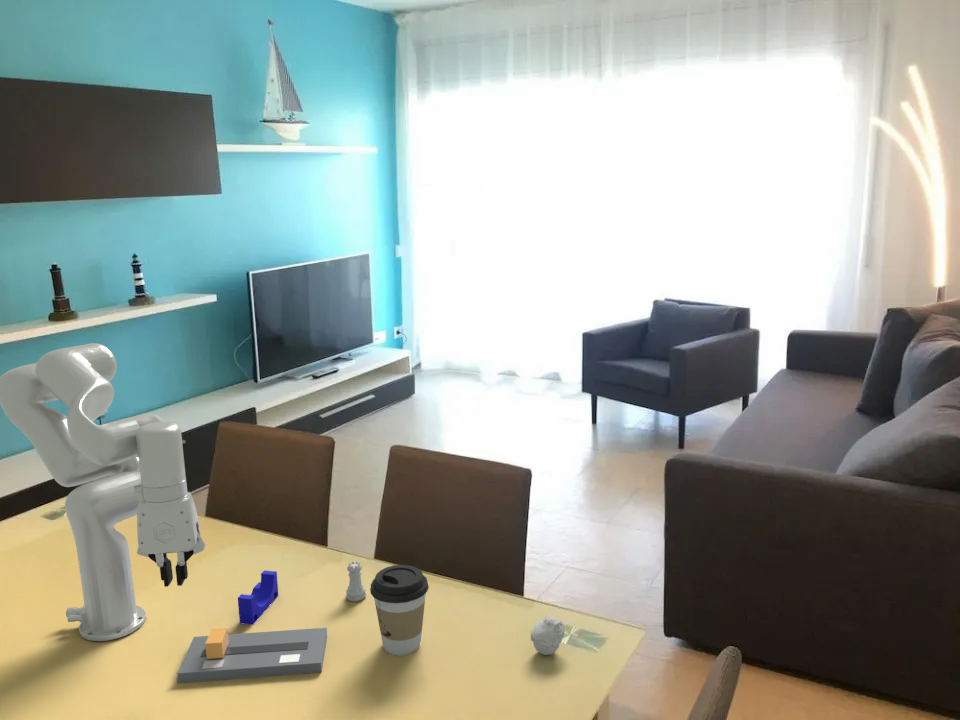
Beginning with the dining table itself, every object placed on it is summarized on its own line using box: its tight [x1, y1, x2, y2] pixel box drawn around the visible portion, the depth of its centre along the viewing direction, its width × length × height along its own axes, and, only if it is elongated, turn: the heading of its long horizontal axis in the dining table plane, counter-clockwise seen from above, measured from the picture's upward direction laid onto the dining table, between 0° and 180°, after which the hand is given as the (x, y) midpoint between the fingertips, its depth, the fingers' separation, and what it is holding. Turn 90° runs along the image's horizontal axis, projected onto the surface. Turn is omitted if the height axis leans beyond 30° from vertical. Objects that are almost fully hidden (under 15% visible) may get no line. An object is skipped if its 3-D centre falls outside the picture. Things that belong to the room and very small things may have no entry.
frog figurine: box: [530, 615, 566, 656], centre depth 151 cm, size 6×7×7 cm
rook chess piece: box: [345, 560, 367, 603], centre depth 173 cm, size 4×4×8 cm
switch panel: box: [176, 627, 328, 684], centre depth 151 cm, size 26×12×2 cm, turn 96°
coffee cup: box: [369, 564, 430, 657], centre depth 153 cm, size 11×11×15 cm
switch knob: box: [205, 627, 229, 659], centre depth 150 cm, size 3×5×3 cm, turn 6°
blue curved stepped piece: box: [237, 570, 279, 625], centre depth 169 cm, size 12×4×6 cm, turn 169°
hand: (175, 582), depth 146 cm, fingers closed
